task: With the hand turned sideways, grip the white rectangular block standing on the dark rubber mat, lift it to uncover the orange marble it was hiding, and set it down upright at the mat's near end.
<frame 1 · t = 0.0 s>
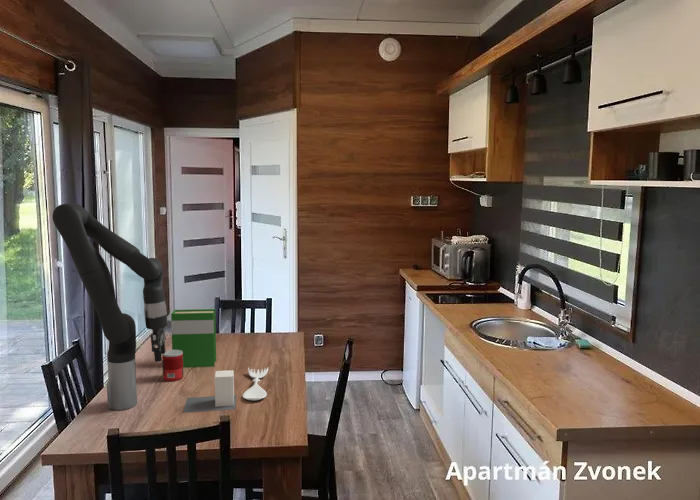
hand: (160, 357, 197), 17 cm above the table, tool pointing down, fingers open, 8 cm apart
hardback book: (194, 364, 241), on the table
canned food: (173, 378, 224), on the table
white rectangular block: (224, 402, 200), resting on mat
white piece: (256, 388, 215), on the table
mat: (210, 404, 199), on the table
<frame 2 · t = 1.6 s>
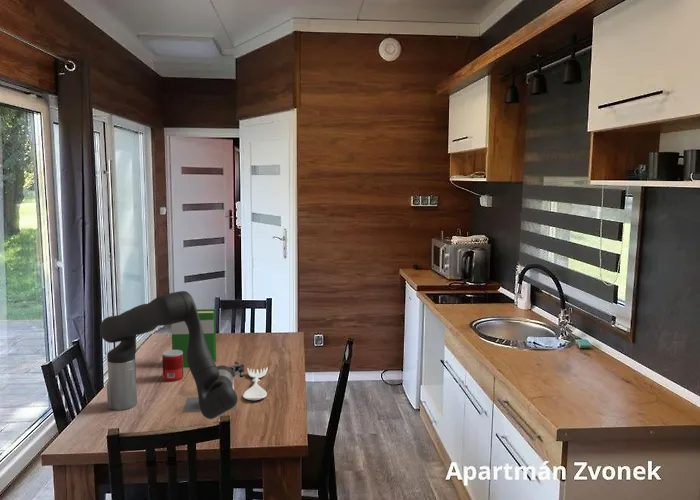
hand: (223, 364, 187), 19 cm above the table, tool horizontal, fingers open, 8 cm apart
nothing on the table moved.
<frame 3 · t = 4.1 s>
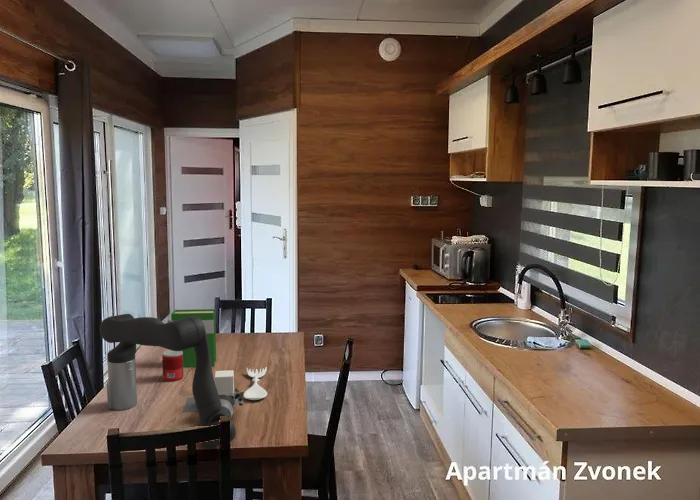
hand: (223, 391, 195), 6 cm above the table, tool horizontal, fingers open, 8 cm apart
nothing on the table moved.
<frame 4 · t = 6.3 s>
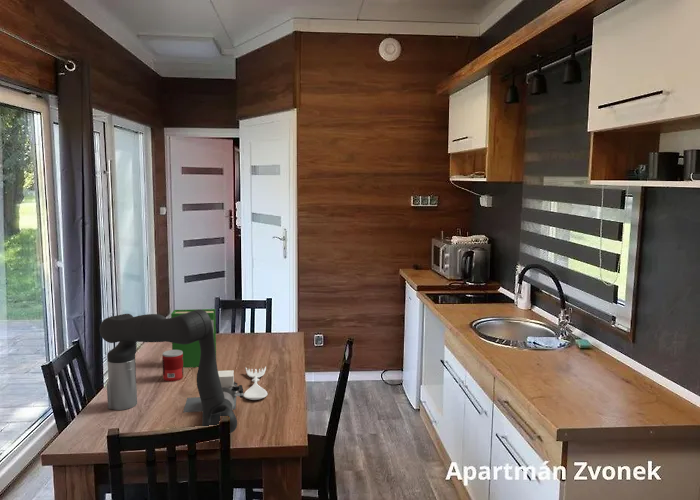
hand: (224, 384, 201), 6 cm above the table, tool horizontal, fingers closed on white rectangular block, 6 cm apart
white rectangular block: (224, 402, 200), resting on mat, touching gripper
everything else where it was.
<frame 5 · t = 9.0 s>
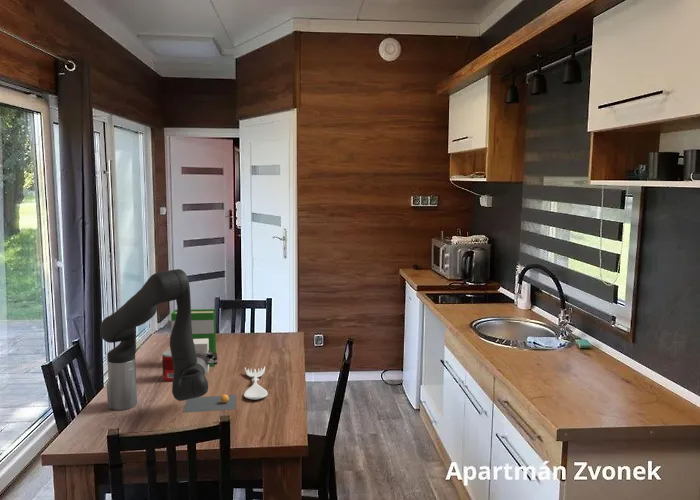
hand: (199, 352, 198), 19 cm above the table, tool horizontal, fingers closed on white rectangular block, 6 cm apart
white rectangular block: (199, 370, 197), point 13 cm above the table, touching gripper
everything else where it was.
when the fingers open (8 cm above the table, at t = 11.7 s): white rectangular block drops 1 cm, resting on mat.
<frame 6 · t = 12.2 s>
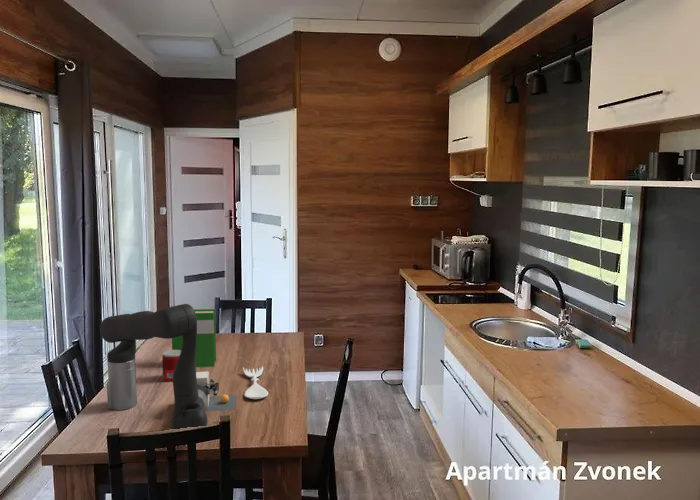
hand: (199, 382, 199), 8 cm above the table, tool horizontal, fingers open, 8 cm apart
white rectangular block: (199, 404, 198), resting on mat
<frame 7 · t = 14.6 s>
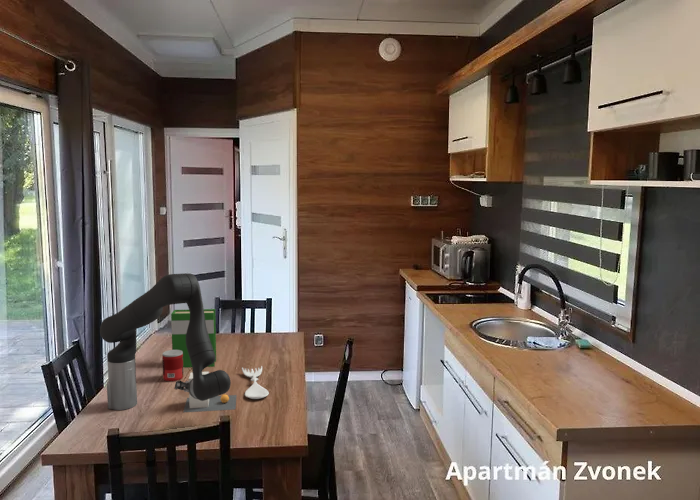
hand: (194, 388, 187), 10 cm above the table, tool tilted 70°, fingers open, 8 cm apart
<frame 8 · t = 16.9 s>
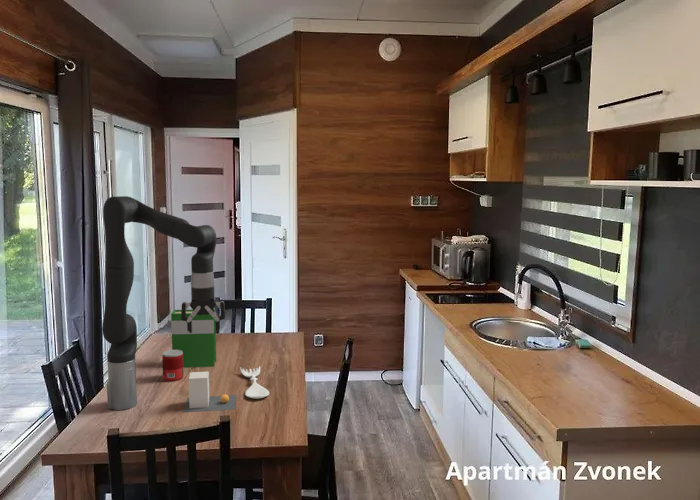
hand: (203, 331, 185), 30 cm above the table, tool pointing down, fingers open, 8 cm apart
at the end: white rectangular block inside the target area (0.1 cm from its centre), resting on mat; white rectangular block tilted 0°; white rectangular block moved 8.9 cm from its start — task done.
